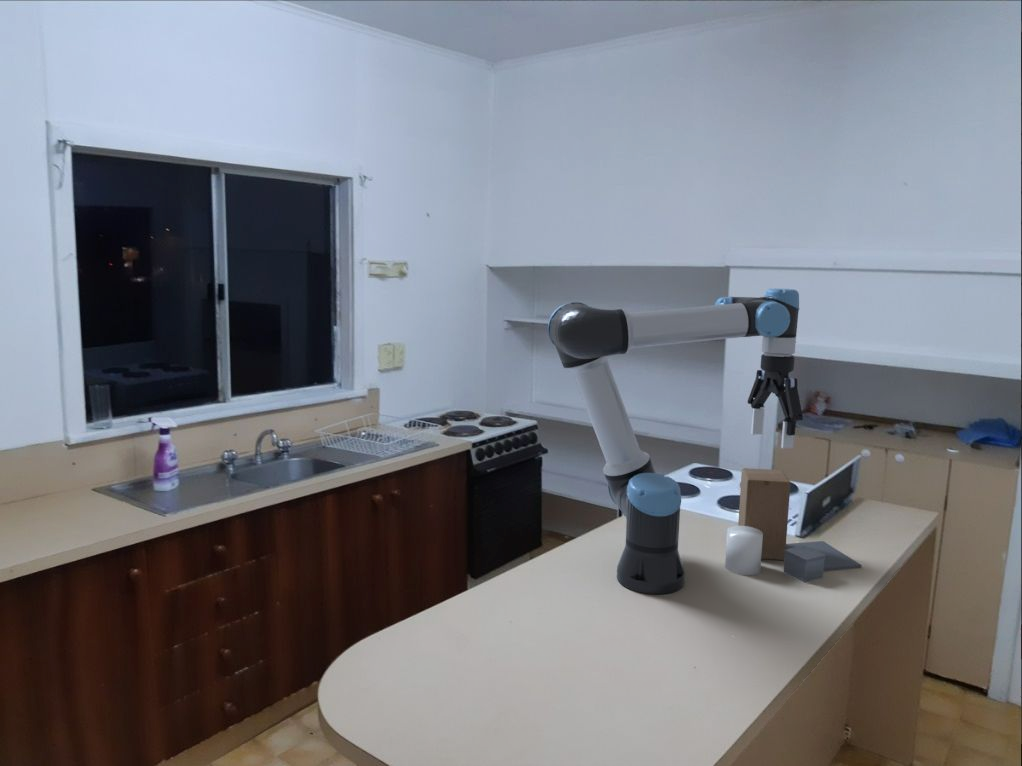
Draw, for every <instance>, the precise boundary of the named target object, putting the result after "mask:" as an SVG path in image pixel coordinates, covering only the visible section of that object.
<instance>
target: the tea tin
mask: <svg viewBox="0 0 1022 766" xmlns="http://www.w3.org/2000/svg"><path fill="white" fill-rule="evenodd" d="M784 553H785V559H784V560H783V561H784V563H783V573H785V574H786V575H789V576H791V577H792V576H793V578H794V577H795V579H797V580H798V581H800V580H801V581H800V582H802V581H803V582H802V583H807V582H810V581H813V580H818V579H822V578H823V577H824V571H823V570H824V559H825V558H826V555H825V554H823V553H821V552H819V551H816V550H814V549H812V548H810V547H807V546H805V545H802V546H797V547H793V548H789V549H785V550H784Z"/></svg>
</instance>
